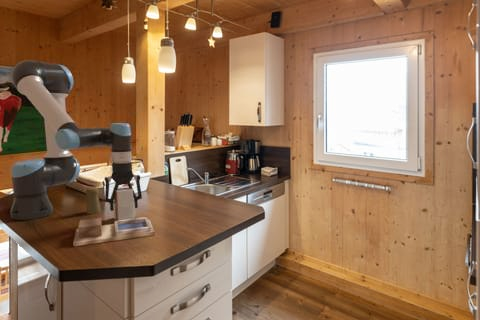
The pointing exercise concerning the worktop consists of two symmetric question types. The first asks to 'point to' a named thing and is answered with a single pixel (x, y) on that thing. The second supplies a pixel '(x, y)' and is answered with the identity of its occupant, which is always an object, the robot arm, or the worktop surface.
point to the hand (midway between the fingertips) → (124, 216)
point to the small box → (124, 203)
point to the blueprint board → (111, 230)
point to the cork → (93, 201)
